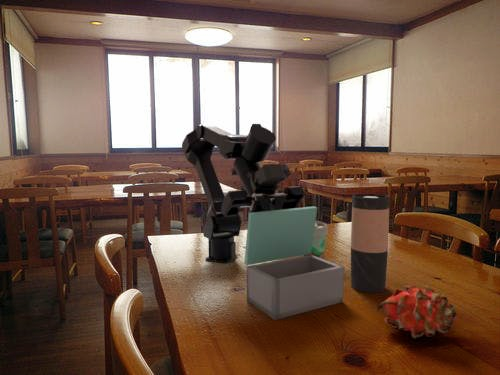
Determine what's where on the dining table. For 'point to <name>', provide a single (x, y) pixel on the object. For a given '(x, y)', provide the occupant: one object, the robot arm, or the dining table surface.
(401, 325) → the dragon fruit
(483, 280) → the dining table surface
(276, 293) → the grey rectangular box
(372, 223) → the travel mug
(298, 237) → the mint green lid
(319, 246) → the food container
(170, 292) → the dining table surface
